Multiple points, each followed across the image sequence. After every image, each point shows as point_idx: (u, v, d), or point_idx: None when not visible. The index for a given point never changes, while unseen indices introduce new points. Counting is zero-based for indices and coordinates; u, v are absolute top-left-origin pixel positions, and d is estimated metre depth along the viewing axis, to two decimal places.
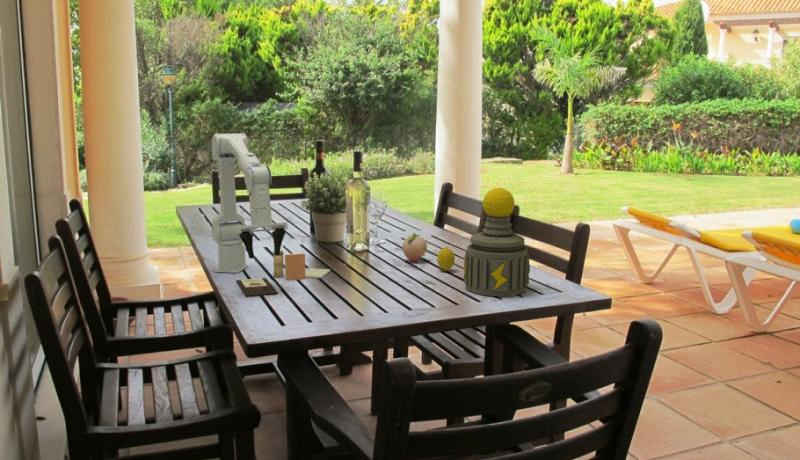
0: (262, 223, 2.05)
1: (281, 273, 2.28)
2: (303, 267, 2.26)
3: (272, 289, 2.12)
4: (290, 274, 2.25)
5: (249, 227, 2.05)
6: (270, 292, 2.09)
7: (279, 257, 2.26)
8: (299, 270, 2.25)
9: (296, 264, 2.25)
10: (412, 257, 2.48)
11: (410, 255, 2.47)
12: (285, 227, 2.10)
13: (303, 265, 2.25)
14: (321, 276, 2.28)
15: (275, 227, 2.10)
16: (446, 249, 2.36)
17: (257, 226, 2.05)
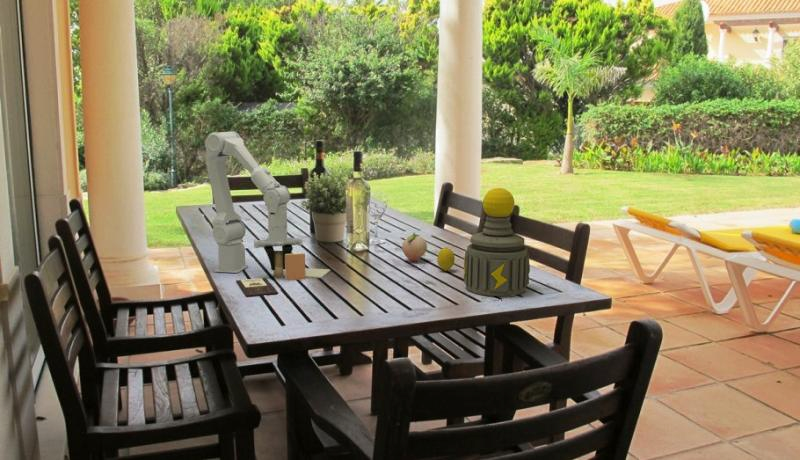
0: (277, 240, 2.24)
1: (281, 273, 2.28)
2: (303, 267, 2.26)
3: (272, 289, 2.12)
4: (290, 274, 2.25)
5: (265, 243, 2.24)
6: (270, 292, 2.09)
7: (279, 257, 2.26)
8: (299, 270, 2.25)
9: (296, 264, 2.25)
10: (412, 257, 2.48)
11: (410, 255, 2.47)
12: (299, 243, 2.28)
13: (303, 265, 2.25)
14: (321, 276, 2.28)
15: (290, 243, 2.28)
16: (446, 249, 2.36)
17: (272, 243, 2.24)
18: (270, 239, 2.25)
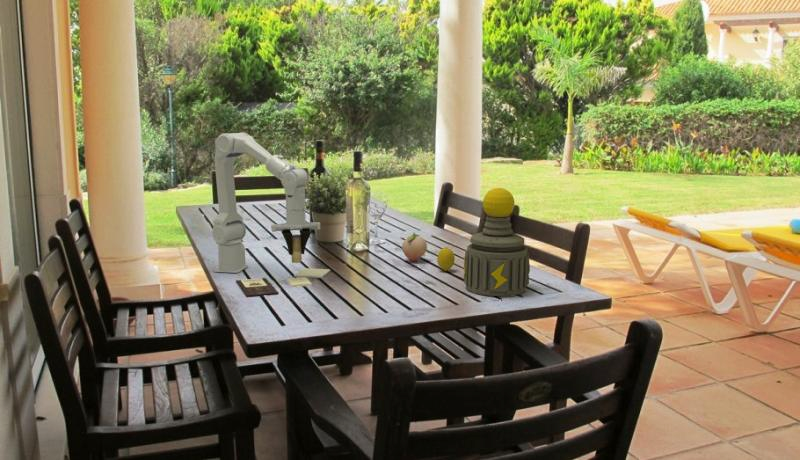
0: (295, 224, 2.18)
1: (299, 258, 2.22)
2: None
3: (272, 289, 2.12)
4: None
5: (283, 227, 2.18)
6: (270, 292, 2.09)
7: (297, 241, 2.20)
8: None
9: None
10: (412, 257, 2.48)
11: (410, 255, 2.47)
12: (318, 227, 2.22)
13: None
14: (321, 276, 2.28)
15: (308, 227, 2.22)
16: (446, 249, 2.36)
17: (290, 226, 2.18)
18: (288, 223, 2.19)
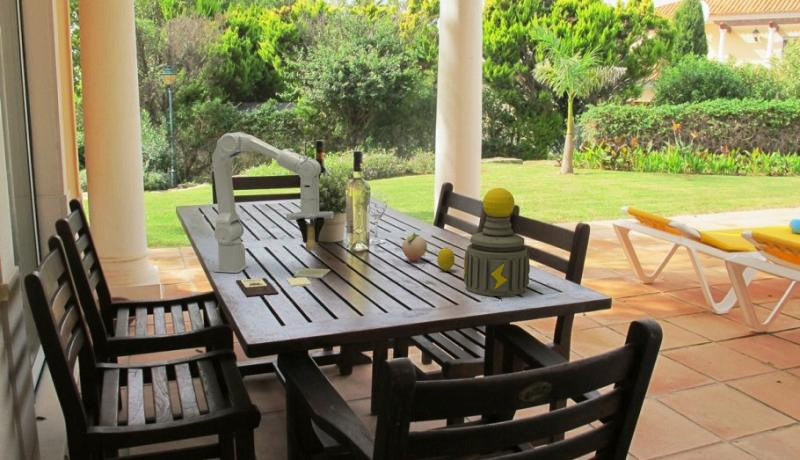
0: (309, 213, 2.26)
1: (313, 246, 2.29)
2: None
3: (272, 289, 2.12)
4: None
5: (298, 216, 2.26)
6: (271, 292, 2.09)
7: (311, 230, 2.28)
8: None
9: None
10: (412, 257, 2.48)
11: (410, 255, 2.47)
12: (331, 216, 2.30)
13: None
14: (321, 276, 2.28)
15: (322, 216, 2.30)
16: (446, 249, 2.36)
17: (305, 215, 2.26)
18: (302, 212, 2.27)
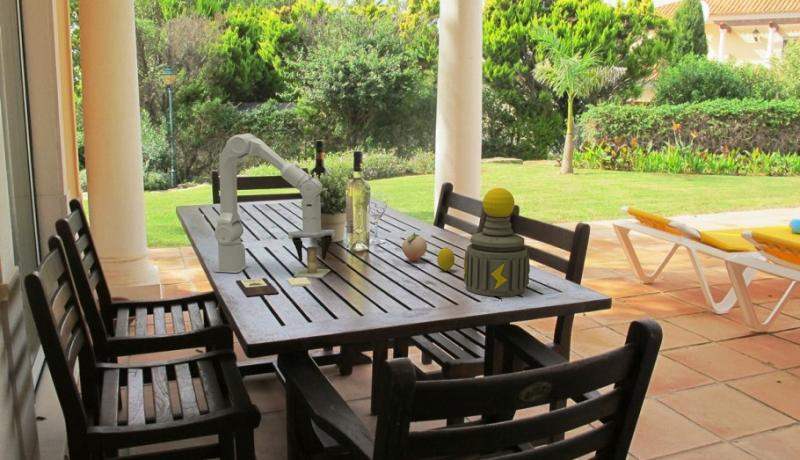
0: (311, 232, 2.28)
1: (315, 269, 2.32)
2: None
3: (273, 289, 2.12)
4: None
5: (300, 234, 2.28)
6: (271, 292, 2.09)
7: (312, 253, 2.31)
8: None
9: None
10: (412, 257, 2.48)
11: (410, 255, 2.47)
12: (333, 235, 2.32)
13: None
14: (321, 276, 2.28)
15: (324, 234, 2.32)
16: (446, 249, 2.36)
17: (306, 234, 2.28)
18: (304, 230, 2.29)
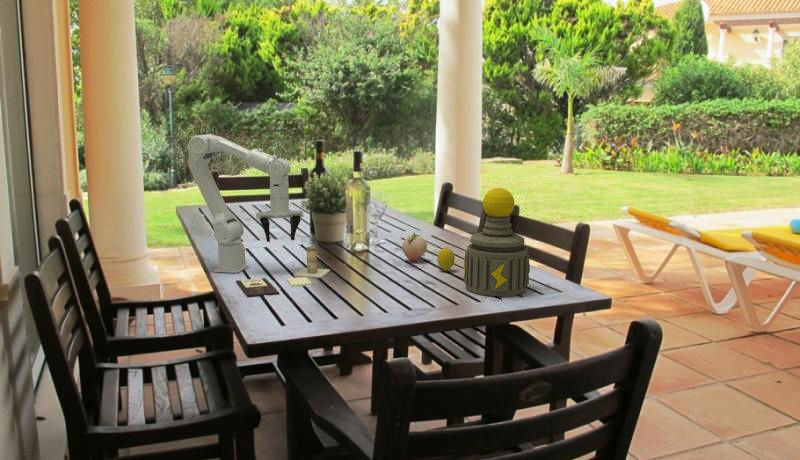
0: (279, 212, 2.28)
1: (314, 269, 2.32)
2: None
3: (273, 289, 2.12)
4: None
5: (267, 215, 2.27)
6: (271, 292, 2.09)
7: (312, 253, 2.30)
8: None
9: None
10: (412, 257, 2.48)
11: (410, 255, 2.47)
12: (301, 215, 2.32)
13: None
14: (321, 276, 2.28)
15: (292, 215, 2.32)
16: (446, 249, 2.36)
17: (274, 214, 2.27)
18: (272, 210, 2.28)
